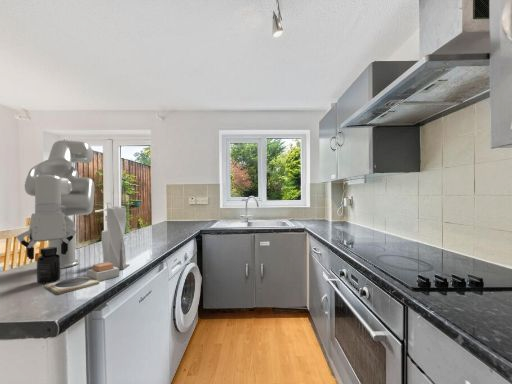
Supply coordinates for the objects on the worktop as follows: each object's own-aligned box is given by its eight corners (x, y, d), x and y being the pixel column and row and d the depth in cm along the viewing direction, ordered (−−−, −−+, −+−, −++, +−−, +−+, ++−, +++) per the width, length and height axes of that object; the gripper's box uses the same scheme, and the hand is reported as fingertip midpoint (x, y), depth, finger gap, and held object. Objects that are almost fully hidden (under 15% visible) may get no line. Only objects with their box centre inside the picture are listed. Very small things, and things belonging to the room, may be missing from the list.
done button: (93, 270, 100) (93, 264, 100) (106, 267, 104) (106, 261, 104) (99, 272, 97) (99, 266, 97) (113, 269, 101) (113, 263, 101)
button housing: (87, 277, 99) (87, 269, 99) (109, 272, 106) (109, 265, 106) (96, 281, 95) (96, 273, 95) (119, 276, 101) (119, 268, 101)
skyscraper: (101, 270, 109) (101, 202, 109) (110, 265, 117) (110, 202, 117) (123, 269, 110) (122, 202, 110) (130, 264, 118) (130, 201, 118)
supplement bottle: (65, 278, 99) (64, 246, 99) (46, 284, 92) (46, 250, 92) (51, 277, 101) (51, 245, 101) (31, 283, 94) (31, 249, 94)
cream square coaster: (45, 286, 90) (45, 283, 90) (84, 277, 100) (84, 274, 100) (58, 294, 83) (58, 291, 83) (99, 283, 93) (99, 280, 93)
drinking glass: (111, 265, 117) (111, 231, 117) (98, 264, 118) (97, 231, 118) (121, 261, 123) (121, 229, 124) (109, 261, 125) (109, 229, 125)
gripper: (71, 208, 106) (71, 251, 105) (14, 210, 92) (13, 259, 91) (79, 208, 101) (79, 253, 100) (20, 210, 87) (19, 262, 86)
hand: (48, 256), depth 96 cm, fingers open, 9 cm apart
